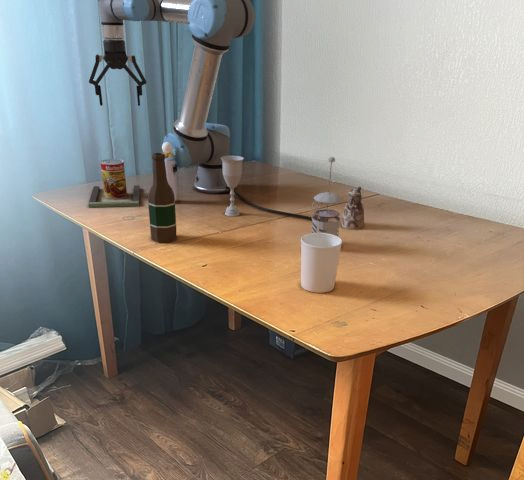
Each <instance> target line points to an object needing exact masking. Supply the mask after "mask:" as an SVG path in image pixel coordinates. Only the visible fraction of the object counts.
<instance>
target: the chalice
mask: <svg viewBox="0 0 524 480" xmlns="http://www.w3.org/2000/svg"><path fill="white" fill-rule="evenodd" d="M221 160H222V162H223V176H224V179H225V181H226V184H227V186H228V187H230V188H231V192H229V195H230V198H229V201H230V205H229V206H227V207H226V209H225V212H224V215H225V216H227V217H238V216H240V214H241V213H240V210H239V207H237V206H236V205H235V200H236V198H235V193H234V191H235V189H236V188H237V187H238V185H239V183H240V181H241V178H242V175H243V161H244V157H243V156H240V155H230V156H223V157H221ZM234 188H235V189H234Z"/></svg>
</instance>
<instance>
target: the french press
mask: <svg viewBox="0 0 524 480" xmlns="http://www.w3.org/2000/svg"><path fill="white" fill-rule="evenodd" d="M327 162H329V163H330V169H329V180H328V191H326V192H321V193H318V194H317V195H315V196H314V197H313V200H314V201H313V202H312V204H311V211H310V214H311V216H310V217H312V220H311V221H312V223H311V233H327V234H332V235H335V236H337V237H339V232H340V223H341V218H340V217H339V216H340V212H339V211H337V210H334V209H329V205H338V204H341V203H343V198H342V197H341V196H340V195H339V194H336V193H334V192H330V189H331V187H330V186H331V177H332V167H333V163H335V162H336V158H335V157H334V156H329V157H328V159H327ZM315 202H316V208H315V210H314V212H313V207H314V204H315ZM323 204H324V205H326V208H319V209H318V206H322V205H323ZM313 214H314V215H313ZM318 219H320V222H319V220H318ZM335 220H336V221H335Z"/></svg>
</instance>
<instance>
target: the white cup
mask: <svg viewBox="0 0 524 480" xmlns="http://www.w3.org/2000/svg"><path fill="white" fill-rule="evenodd" d="M342 244H343V240H342V239H341V237H339V236H338V237H337V236H335V235H332V234H327V233H318V232H317V233H312V232H311V233H310V232H309V233H306V234H304V235H302V236H301V238H300V286H301V288H302V289H304V290H305V291H308V292H309V293H310V292H311V293H318V294H321V293H324V294H325V293H329V292H331V291H333V289H334V288H335V284H336V281H337V280H336V279H337V274H338V268H339V262H340V256H341V251H342V246H343V245H342Z"/></svg>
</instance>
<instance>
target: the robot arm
mask: <svg viewBox="0 0 524 480" xmlns="http://www.w3.org/2000/svg"><path fill="white" fill-rule="evenodd" d="M97 2H98V7H99V8H98V10H99V16H100V24H101V25H100V26H101V36H102V38H103V40H102V44H103V55H102V54H101V55H100V54H96V55H95V62H94V64H93V68H92V70H91V74H90V77H89V80H88V83H89V84H90V85H93V86H94V92H95V96H98V99H99V106H101V107H103V96H102V86H100V85H101V84H100V82H101V81H102V79H103V78H104V77H105V75H106V73H107V72H108V70H109V69H111V70H122V69H124V71H126V73H127V74H128V75H129V76H130V78H132V80H133V81H134V82H135V84H137V85H136V87H135V88H136V99H137V106H138V107H141V98H140V97H141V96H143V85H147V80H146V78H145V76H144V73H143V72H142V70H141V68H140V66H139V65H138V63H137V58H136V55H135V54H132V55H127V47H126V41H125V40H124V39H125V38H126V37H125V36H126V35H125V26H124V21H130V22H131V21H132V22H151V21H152V22H165V23H175V24H183V25H188V28H189V31H190V33H191V40H192V42H193V43H194V49H193V54H192V59H191V63H190V69H189V73H188V78H187V83H186V88H185V93H184V97H183V101H182V107H181V112H180V118H178V119H176V120H175V121H174V123H173V127H172V132H168V133H167V134H166V135H165V136H164V137H163V140H162V141H163V142H162V144H163V143H165V142H169V143H171V144H172V146H173V150H172V152H173V153H176V157H171V158H166V159H174V160H175V164H177V169H183V168H190V167H194V166H197V167H198V168H197V172H196V175H195V177H194V178H195V179H194V182H193V185H194V186H193V188H194V190H195V191H197V192H199V193H203V194H211V195H213V194H214V195H216V194H217V195H219V194H228V193H230V192H231V188H230V187H228V186H227V184H226V181H225V179H224V176H223V162H222V160H221V157H223V156H231V154H230V153H231V136H230V128H229V126H227V125H225V124H220V123H212V122H207V120H208V115H209V111H210V108H211V107H210V106H211V103H212V99H213V94H214V91H215V86H216V82H217V78H218V74H219V69H220V65H221V61H222V56H223V55H224V53H226V52H228V51H229V49H230V45H231V42H232V39H240V38H243V37H245V36H246V35H248V34H249V33H250V32H251V30H252V29H253V27H254V24H255V20H256V12H255V8H254V6H253V3H252V2H251V1H250V0H97ZM128 60H129V62H130V63H132V65H133V67H134V69H135V71H136V73H137V75H138V76H139V78H140V79H139V78H138V76H137V75H135V73H134V72H133V71H132V69H130V67H129V66H128V65H127V62H128ZM102 61H104V62H105V63H106V65H105V67H104V68H103V70H101V72H100V74H99V76H97V78H96V80H95V76H96V74H97V71H98V69H99V68H98V67H99V66H100V63H101V62H102ZM93 79H94V80H93ZM235 189H236V187H235V188H234V193H235V194H234V196H237V197H238V198H240V200H242V201H244V202H245V203H246V204H248V205H250V206H253V207H254V208H256V209H259V210H261V211H264V212H267V213H268V212H269V213H272V214H278V215H282V216H289V217H294V218H300V219H306V220H311V221H312V217H313V216H309V215H304V214H299V213H292V212H287V211H282V210H281V211H280V210H275V209H271V208H267V207H265V206H264V207H263V206H260V205H258V204H256V203H253V202H252V201H250V200H248V199H247V198H245V197H244V196H243V195H241V194H239V192H237V191H236V190H235ZM318 220H319V222H320V218H318Z"/></svg>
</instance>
